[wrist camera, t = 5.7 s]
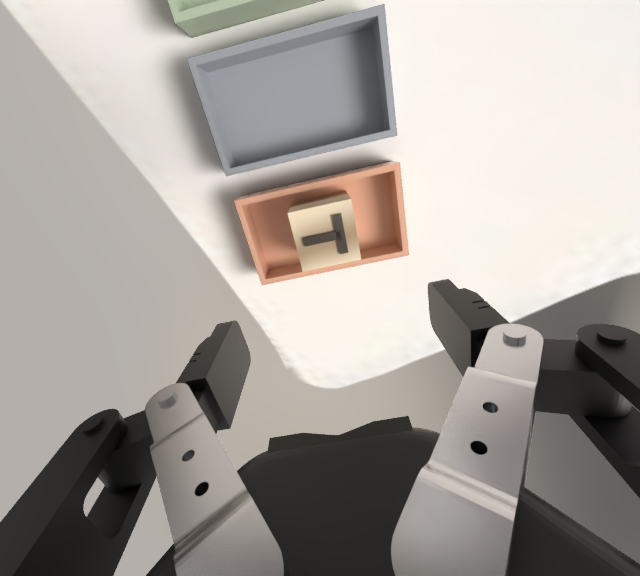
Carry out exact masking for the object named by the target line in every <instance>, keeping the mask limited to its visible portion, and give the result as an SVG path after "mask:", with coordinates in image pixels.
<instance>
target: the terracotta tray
mask: <svg viewBox="0 0 640 576" xmlns="http://www.w3.org/2000/svg"><path fill="white" fill-rule="evenodd" d="M344 190H346V192H347V193H348V195H349V196H350V198H351V201H352V207H353V213H354V219H355V225H356V231H357V237H358V242H359V248H360V254H361V260H357V261H352V262H348V263H343V264H338V265H333V266H328V267H323V268H318V269H314V270H309V271H304V272H303V271H302V267H301V263H300V259H299V256H298V252H297V248H296V244H295V240H294V236H293V233H292V229H291V225H290V221H289V217H288V214H287V213H288V211H289V209H290V206H291V204H292V202H296V201H300V200H305V199H309V198H313V197H318V196H322V195H327V194H331V193H335V192H340V191H344ZM234 203H235V206H236V209H237V212H238V215H239V218H240V221H241V224H242V227H243V230H244V233H245V236H246V239H247V242H248V245H249V248H250V251H251V254H252V257H253V260H254V263H255V266H256V269H257V272H258V275H259V278H260V281H261V284H262V285H265V284H270V283H275V282H280V281H285V280H290V279H295V278H299V277H304V276H309V275H314V274H319V273H324V272H329V271H334V270H339V269H343V268H348V267H353V266H358V265H363V264H368V263H373V262H378V261H382V260H387V259H392V258H397V257H402V256H407V255H409V251H408V241H407V230H406V220H405V210H404V200H403V189H402V179H401V169H400V163H399V162H394V161H389V162H385V163H381V164H376V165H372V166H368V167H364V168H359V169H355V170H351V171H346V172H342V173H338V174H333V175H329V176H325V177H320V178H316V179H312V180H308V181H303V182H299V183H295V184H290V185H286V186H282V187H277V188H273V189H269V190H265V191H260V192H256V193H252V194H247V195H243V196H241V197H239V198H238V199H236V200H235V201H234Z"/></svg>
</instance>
